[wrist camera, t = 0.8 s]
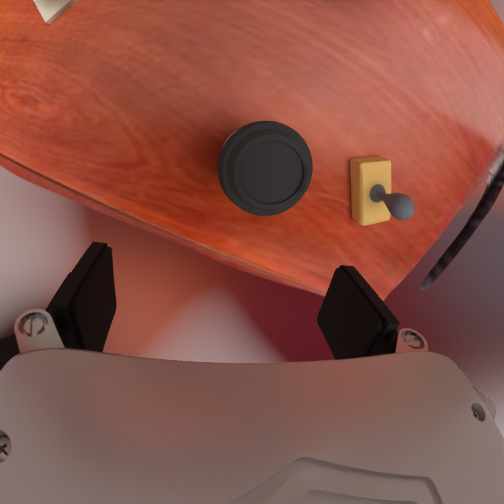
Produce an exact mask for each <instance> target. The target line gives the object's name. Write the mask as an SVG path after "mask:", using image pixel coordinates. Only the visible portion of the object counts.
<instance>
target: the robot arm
mask: <svg viewBox="0 0 504 504" xmlns="http://www.w3.org/2000/svg"><path fill="white" fill-rule="evenodd" d="M115 311H116V295H115V285H114V274H113V261H112V249H111V247H108V246H107V244H106V243H99V242H93V243H92V244H91V245H90V246H89V248H88V249H87V251H86V252H85V253H84V255H83V256H82V257H81V259H80V260H79V262H78V263H77V265H76V266H75V268H74V269H73V271H72V272H70V273H69V274H68V276H67V277H66V278H65V280H64V282H63V283H62V285H61V286H60V288H59V289H58V291H57V292H56V294H55V295H54V297H53V299H52V300H51V302H50V304H49V305H48V307H47V309H46V310H45V311H44V310H41V309H33V310H29V311H27V312H24V313H23V314H22V315H20V316H19V317H18V319H17V320H16V322H15V325H14V330H15V334H13V335H10V336H8V337H6V338H4V339H1V340H0V504H504V439H503V436H502V434H501V432H500V430H499V429H498V427H497V425H496V423H495V421H494V418H495V414H496V408H495V405H494V403H493V402H492V401H491V400H490V399H489V398H488V397H486V396H485V395H484V394H483V393H481V392H480V391H479V390H477V389H476V388H475V387H474V386H472V385H471V383H470V382H469V381H468V379H467V378H466V376H465V375H464V374H463V373H462V371H461V370H460V368H459V367H458V366H456V364H455V363H454V362H453V361H452V360H450V359H449V358H448V357H445V356H443V355H440V354H436V353H431V352H428V350H427V349H428V346H427V342H426V340H425V339H424V337H423V336H422V335H421V334H419V333H418V332H416V331H415V330H412V329H409V328H403V329H401V330H400V331H399V332H397V330H396V329H397V327H398V326H399V324H400V323H399V322H398V320H397V319H396V318H395V316H394V315H393V314H392V312H391V311H390V310H389V309H388V307H387V306H386V305H385V304H384V302H383V301H382V300H381V299H380V297H379V296H378V295H377V294H376V292H375V291H374V290H373V289H372V288H371V286H370V285H369V284H368V283H367V282H366V280H365V279H364V278H363V277H362V276H361V274H360V273H359V272H358V271H357V270H356V269H355V267H353V266H345V265H341V266H340V267H339V268H337V269H336V270H335V272H334V275H333V278H332V280H331V283H330V286H329V288H328V291H327V293H326V296H325V299H324V301H323V304H322V306H321V309H320V311H319V314H318V316H317V322H318V325H319V327H320V329H321V331H322V333H323V335H324V337H325V339H326V341H327V343H328V345H329V347H330V349H331V351H332V354H333V355H334V358H335V360H326V361H314V362H313V361H311V362H291V363H212V362H191V361H177V360H164V359H154V358H144V357H136V356H127V355H120V354H113V353H104V352H102V351H103V348H104V345H105V341H106V338H107V335H108V332H109V329H110V326H111V323H112V320H113V317H114V314H115Z"/></svg>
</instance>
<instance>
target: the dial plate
mask: <svg viewBox="0 0 504 504" xmlns="http://www.w3.org/2000/svg"><path fill="white" fill-rule="evenodd" d="M33 1H34V3H35V4H36V6H37V8H38V10H39V12H40V14H41V15H42V17H43V19H44V21H45V22H46V23H48V24H51V23H52V22H53V21H54V20H55V19H56V18H58V17H59V16H60V15H61V14H62V13H63V12H65V11H66V10H67V9H68V8H69V7H71V6H72V5H73V4H74V3H76V2H77V1H78V0H33Z"/></svg>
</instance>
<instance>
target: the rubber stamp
mask: <svg viewBox="0 0 504 504" xmlns="http://www.w3.org/2000/svg"><path fill="white" fill-rule="evenodd" d="M350 176H351V206H352V218H353V219H355V220H356V221H357V222H358V223H360V224H361V225H362V226H365V225H369V224H374V223H378V222H383V221H388V220H389V219H390V213H391V214H392V215H393V216H394V217H395V218H396V219H399V220H407V219H409V218H411V217H412V215H413V214H414V210H415V208H414V203H413V201H412V200H411V199H410V198H409V197H408V196H407V195H404V194H400V193H392V194H391V161H390V160H388V159H385V158H382V157H379V156H373V157H363V158H353V159H350Z"/></svg>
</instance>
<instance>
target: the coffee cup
mask: <svg viewBox="0 0 504 504" xmlns="http://www.w3.org/2000/svg"><path fill="white" fill-rule="evenodd" d="M312 169H313V164H312V157H311V153H310V150H309V148H308V146H307V144H306V142H305V141H304V139H303V138H302V137H301V136H300V135H299V134H298V133H297V132H296V131H295V130H293V129H292V128H290V127H288V126H286V125H284V124H281V123H278V122H274V121H258V122H254V123H250V124H248V125H245V126H243V127H242V128H240V129H238V130H236V131H234V132H233V133H232V134H231V135H230V136H229V137H228V138H227V139H226V141H225V143H224V145H223V147H222V150H221V152H220V155H219V159H218V178H219V182H220V184H221V187H222V189H223V191H224V192H225V194H226V195H227V197H228V198H229V199H230V200H231V201H232V202H233V203H234V204H236V205H237V206H238V207H239V208H241V209H242V210H244V211H246V212H248V213H251V214H254V215H259V216H270V215H276V214H279V213H282V212H284V211H286V210H288V209H289V208H291V207H292V206H294V205H295V204H296V203H297V202H298V201H299V200H300V199H301V198H302V196H303V195H304V194H305V192H306V190H307V188H308V186H309V184H310V181H311V177H312Z"/></svg>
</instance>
